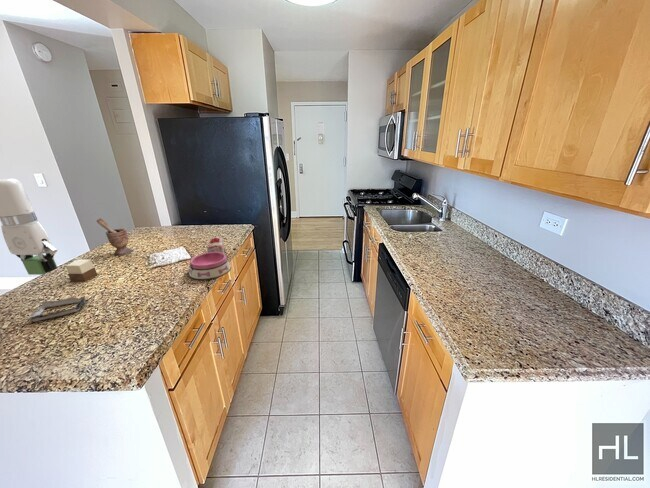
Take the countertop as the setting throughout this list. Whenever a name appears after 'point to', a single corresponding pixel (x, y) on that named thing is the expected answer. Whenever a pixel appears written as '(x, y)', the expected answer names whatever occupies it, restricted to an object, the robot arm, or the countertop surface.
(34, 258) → the green block
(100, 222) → the mortar and pestle
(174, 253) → the white flat packet
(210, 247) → the food item
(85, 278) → the walnut block
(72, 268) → the cream block
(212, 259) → the dog bowl
